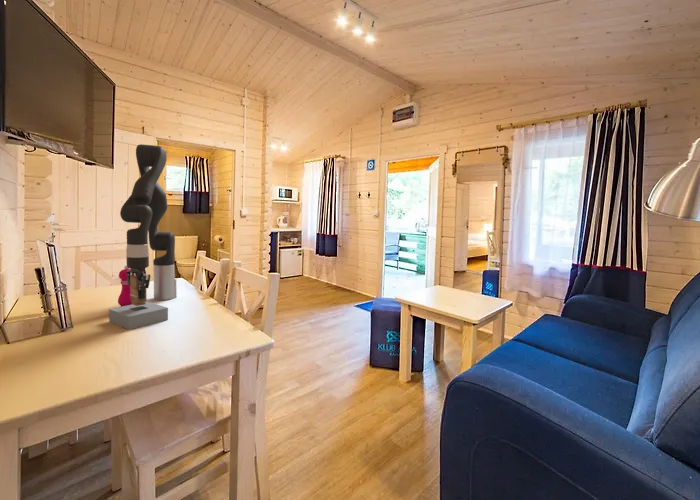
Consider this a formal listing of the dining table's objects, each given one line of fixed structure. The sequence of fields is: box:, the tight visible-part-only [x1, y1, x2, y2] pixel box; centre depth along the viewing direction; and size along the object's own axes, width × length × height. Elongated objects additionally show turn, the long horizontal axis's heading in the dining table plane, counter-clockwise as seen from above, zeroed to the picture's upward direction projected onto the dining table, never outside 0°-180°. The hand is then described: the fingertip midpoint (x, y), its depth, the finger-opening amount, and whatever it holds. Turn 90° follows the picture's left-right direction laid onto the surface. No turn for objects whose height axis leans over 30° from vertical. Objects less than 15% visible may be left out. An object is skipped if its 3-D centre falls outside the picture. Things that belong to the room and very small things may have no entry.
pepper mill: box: [117, 265, 132, 307], centre depth 150 cm, size 7×7×20 cm
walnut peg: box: [130, 275, 148, 306], centre depth 137 cm, size 4×4×12 cm
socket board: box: [108, 301, 169, 330], centre depth 139 cm, size 15×15×5 cm
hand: (138, 297), depth 138 cm, fingers closed on walnut peg, 4 cm apart
